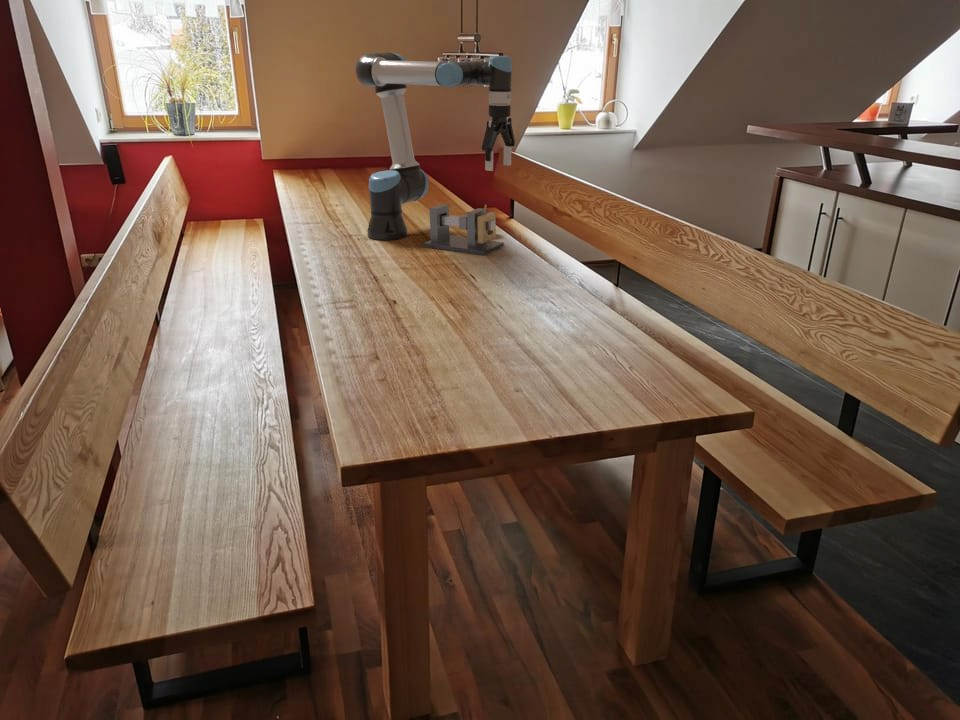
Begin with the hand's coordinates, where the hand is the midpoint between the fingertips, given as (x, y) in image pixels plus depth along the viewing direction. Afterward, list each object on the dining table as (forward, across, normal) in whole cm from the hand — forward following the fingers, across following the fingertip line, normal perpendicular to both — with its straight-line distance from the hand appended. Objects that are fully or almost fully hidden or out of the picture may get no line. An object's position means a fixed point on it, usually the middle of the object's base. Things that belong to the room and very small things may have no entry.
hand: (498, 167), depth 265 cm
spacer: (+18, -12, -2) cm, 22 cm away
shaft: (+20, -12, +7) cm, 24 cm away
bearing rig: (+27, -12, +7) cm, 30 cm away
